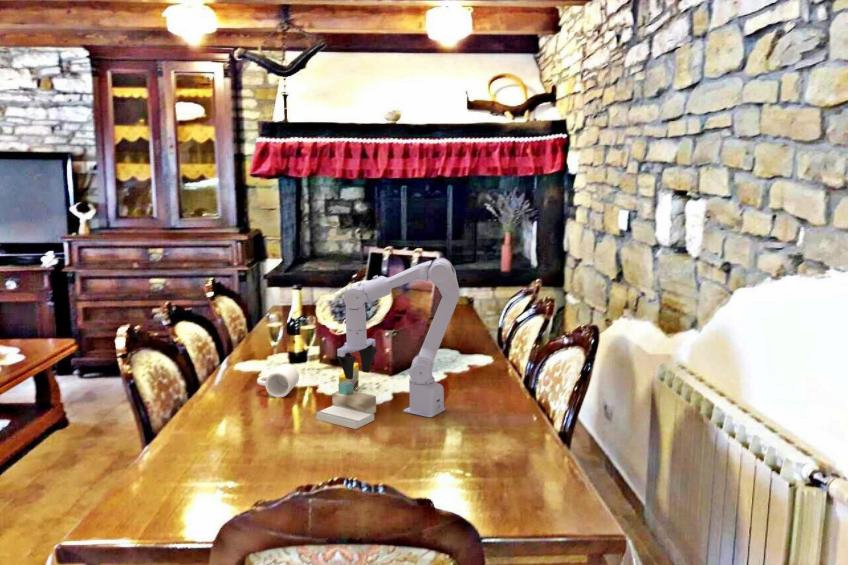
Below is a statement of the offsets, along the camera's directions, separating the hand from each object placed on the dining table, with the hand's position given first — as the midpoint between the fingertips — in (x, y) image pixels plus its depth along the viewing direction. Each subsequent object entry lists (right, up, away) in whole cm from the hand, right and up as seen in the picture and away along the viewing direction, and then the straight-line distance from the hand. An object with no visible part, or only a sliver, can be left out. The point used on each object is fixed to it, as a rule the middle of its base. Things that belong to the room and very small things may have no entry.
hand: (357, 375), depth 204 cm
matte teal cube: (-4, -5, +2) cm, 7 cm away
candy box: (-4, -8, +15) cm, 18 cm away
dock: (-3, -12, -6) cm, 13 cm away
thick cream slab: (-1, -11, +1) cm, 11 cm away
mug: (-27, -8, +19) cm, 34 cm away
